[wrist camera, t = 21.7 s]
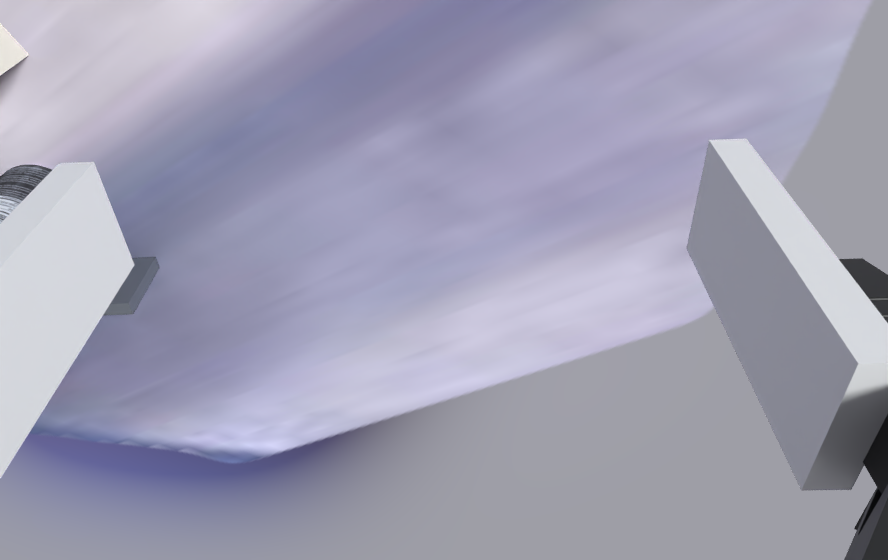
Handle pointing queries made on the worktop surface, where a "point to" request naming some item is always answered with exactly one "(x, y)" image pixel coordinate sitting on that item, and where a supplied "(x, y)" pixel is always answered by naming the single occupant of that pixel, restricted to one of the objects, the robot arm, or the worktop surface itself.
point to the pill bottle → (18, 186)
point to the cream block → (9, 51)
